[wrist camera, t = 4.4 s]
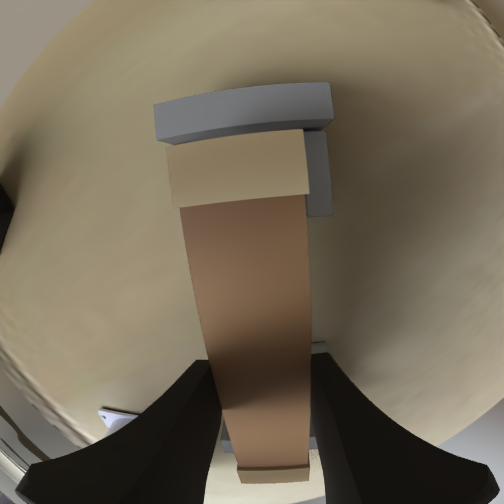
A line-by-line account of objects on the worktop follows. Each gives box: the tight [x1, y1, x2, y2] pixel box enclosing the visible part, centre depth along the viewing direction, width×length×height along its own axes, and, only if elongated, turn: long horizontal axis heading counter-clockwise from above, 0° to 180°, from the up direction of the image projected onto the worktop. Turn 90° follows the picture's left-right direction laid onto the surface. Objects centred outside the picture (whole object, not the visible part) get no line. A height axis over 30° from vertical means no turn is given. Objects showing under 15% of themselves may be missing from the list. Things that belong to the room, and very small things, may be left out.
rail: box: [166, 129, 311, 484], centre depth 11 cm, size 15×3×5 cm, turn 6°
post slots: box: [154, 82, 335, 453], centre depth 15 cm, size 21×7×5 cm, turn 6°
